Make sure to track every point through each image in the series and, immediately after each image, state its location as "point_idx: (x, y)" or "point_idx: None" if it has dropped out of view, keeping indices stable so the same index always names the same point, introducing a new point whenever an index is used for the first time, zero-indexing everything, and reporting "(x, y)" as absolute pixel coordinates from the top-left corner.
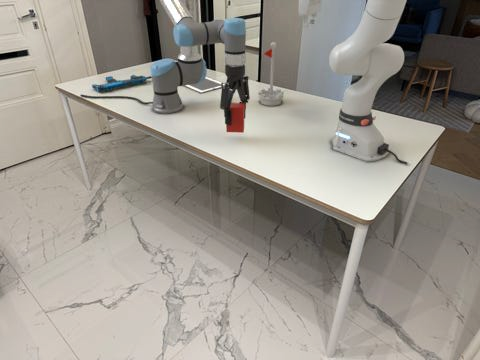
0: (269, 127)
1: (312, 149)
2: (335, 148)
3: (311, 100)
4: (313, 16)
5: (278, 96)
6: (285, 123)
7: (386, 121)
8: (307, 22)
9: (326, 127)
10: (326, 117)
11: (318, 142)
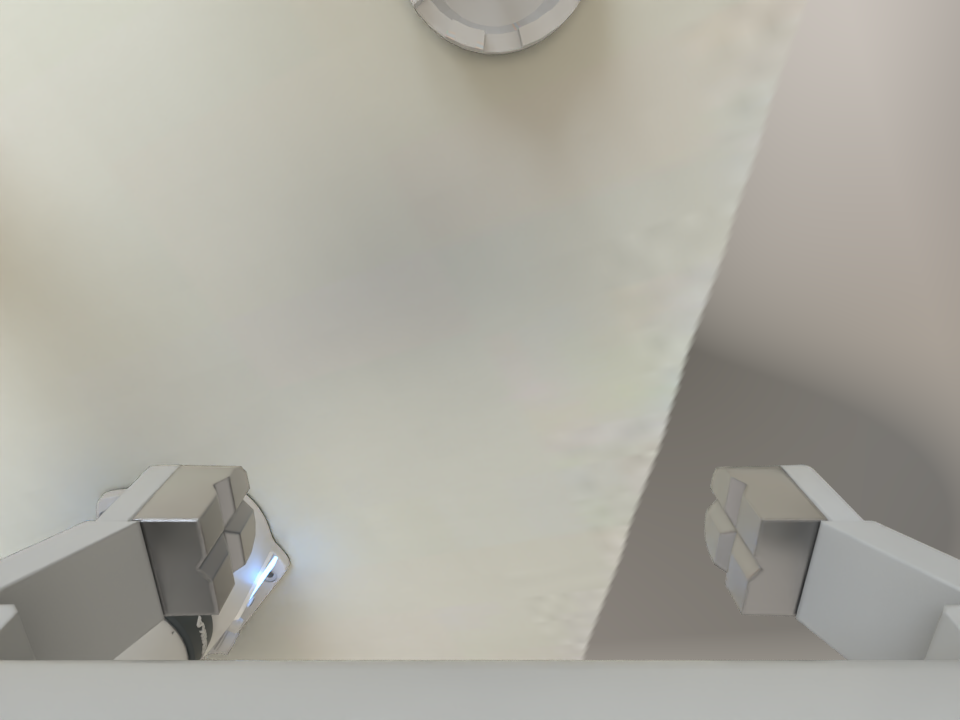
0: (104, 149)
1: (43, 425)
2: (98, 505)
3: (653, 223)
4: (907, 635)
5: (447, 32)
6: (213, 212)
7: (510, 608)
8: (139, 622)
9: (297, 414)
10: (420, 381)
11: (122, 427)
